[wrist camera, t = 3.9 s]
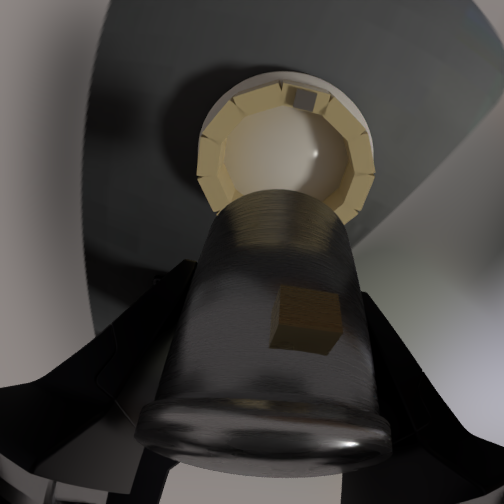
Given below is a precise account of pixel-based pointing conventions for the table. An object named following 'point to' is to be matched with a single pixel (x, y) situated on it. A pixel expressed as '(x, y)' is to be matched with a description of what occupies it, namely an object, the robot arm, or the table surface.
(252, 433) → the bayonet cap
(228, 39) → the table surface
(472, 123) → the table surface
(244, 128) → the ring
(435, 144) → the table surface
